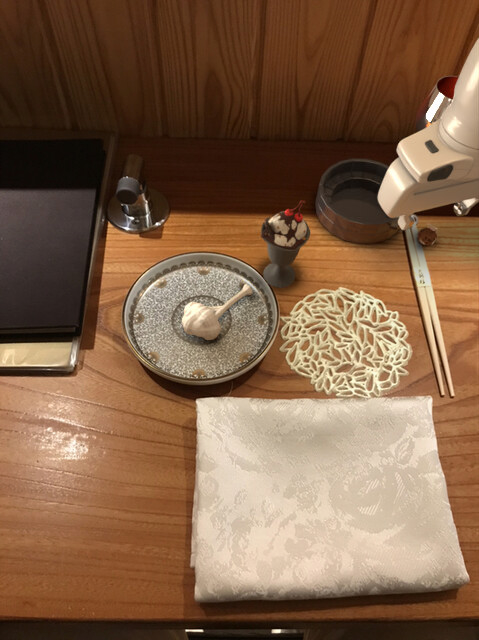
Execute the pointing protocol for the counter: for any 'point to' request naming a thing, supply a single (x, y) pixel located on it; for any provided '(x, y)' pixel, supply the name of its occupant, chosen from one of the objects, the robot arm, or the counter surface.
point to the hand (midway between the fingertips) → (432, 219)
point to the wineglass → (436, 102)
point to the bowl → (354, 202)
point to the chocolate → (427, 235)
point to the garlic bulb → (208, 316)
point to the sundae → (283, 245)
